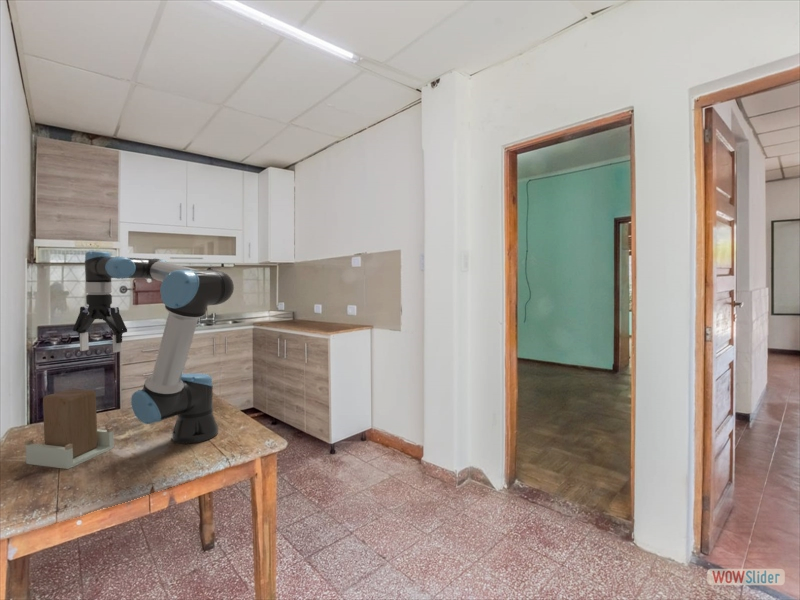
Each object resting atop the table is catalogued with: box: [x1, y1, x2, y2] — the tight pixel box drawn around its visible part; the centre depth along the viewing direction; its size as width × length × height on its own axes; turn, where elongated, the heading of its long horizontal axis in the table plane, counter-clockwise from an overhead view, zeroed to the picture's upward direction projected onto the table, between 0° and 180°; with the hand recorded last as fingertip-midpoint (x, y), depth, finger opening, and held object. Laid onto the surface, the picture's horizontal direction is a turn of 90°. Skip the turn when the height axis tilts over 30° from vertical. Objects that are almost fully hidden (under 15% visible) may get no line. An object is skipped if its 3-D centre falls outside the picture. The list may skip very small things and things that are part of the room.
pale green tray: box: [25, 426, 115, 470], centre depth 130 cm, size 16×16×7 cm
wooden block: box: [42, 388, 98, 458], centre depth 130 cm, size 10×10×20 cm
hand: (100, 351), depth 147 cm, fingers open, 13 cm apart
